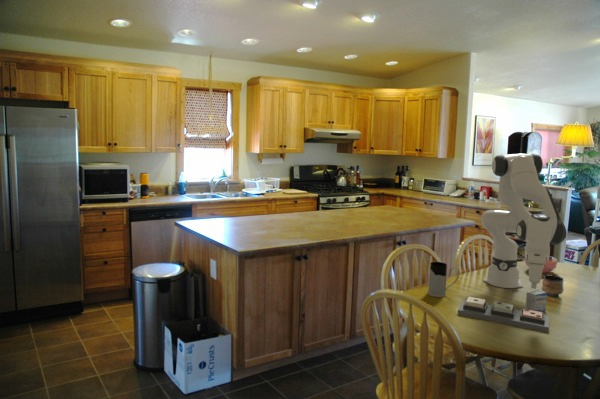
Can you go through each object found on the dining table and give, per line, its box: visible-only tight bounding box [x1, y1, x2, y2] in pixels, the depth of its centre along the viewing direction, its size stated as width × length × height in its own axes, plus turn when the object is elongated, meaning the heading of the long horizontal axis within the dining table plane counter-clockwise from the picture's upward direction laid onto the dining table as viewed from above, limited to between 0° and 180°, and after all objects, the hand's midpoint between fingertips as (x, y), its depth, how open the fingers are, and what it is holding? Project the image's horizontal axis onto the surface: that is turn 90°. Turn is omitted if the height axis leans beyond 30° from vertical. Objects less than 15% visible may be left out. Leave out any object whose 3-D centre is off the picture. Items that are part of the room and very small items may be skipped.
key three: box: [522, 308, 543, 319], centre depth 183 cm, size 7×7×2 cm
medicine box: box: [525, 289, 548, 313], centre depth 196 cm, size 8×4×9 cm, turn 117°
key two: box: [493, 300, 514, 314], centre depth 188 cm, size 7×7×2 cm
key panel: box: [457, 298, 550, 333], centre depth 188 cm, size 14×34×4 cm, turn 61°
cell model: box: [524, 255, 559, 274], centre depth 259 cm, size 17×20×11 cm
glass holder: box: [427, 261, 460, 298], centre depth 215 cm, size 9×14×15 cm, turn 84°
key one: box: [466, 296, 486, 308], centre depth 193 cm, size 7×7×2 cm
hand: (533, 287), depth 181 cm, fingers closed
